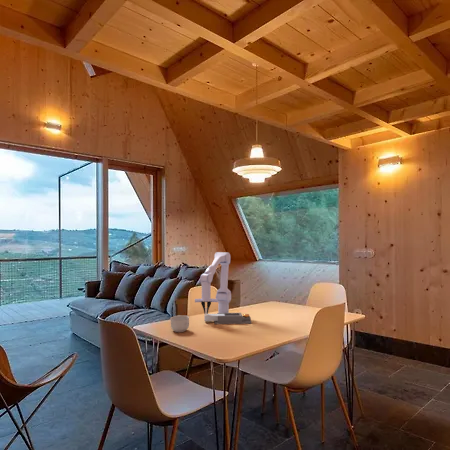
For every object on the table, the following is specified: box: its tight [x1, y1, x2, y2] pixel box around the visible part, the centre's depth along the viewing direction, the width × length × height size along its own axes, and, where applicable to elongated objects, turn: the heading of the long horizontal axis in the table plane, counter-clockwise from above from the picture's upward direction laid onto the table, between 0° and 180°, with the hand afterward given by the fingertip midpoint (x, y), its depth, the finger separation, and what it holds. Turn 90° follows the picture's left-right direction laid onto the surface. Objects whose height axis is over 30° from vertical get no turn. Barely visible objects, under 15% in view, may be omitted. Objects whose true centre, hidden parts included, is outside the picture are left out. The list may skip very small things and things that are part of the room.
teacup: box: [169, 314, 190, 333], centre depth 216 cm, size 14×11×8 cm
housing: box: [213, 312, 252, 325], centre depth 238 cm, size 12×23×5 cm, turn 94°
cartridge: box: [203, 307, 225, 322], centre depth 238 cm, size 6×13×7 cm, turn 94°
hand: (206, 313), depth 237 cm, fingers closed, pressing on cartridge
